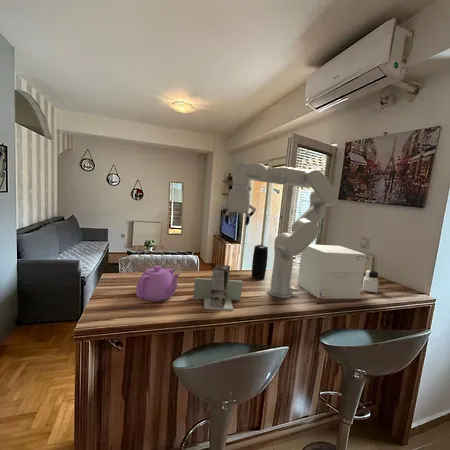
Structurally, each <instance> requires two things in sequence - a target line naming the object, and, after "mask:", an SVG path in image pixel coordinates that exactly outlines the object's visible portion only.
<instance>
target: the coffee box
mask: <svg viewBox="0 0 450 450" xmlns="http://www.w3.org/2000/svg"><path fill="white" fill-rule="evenodd" d="M230 270H231V266H230V265H228V264H227V265H226V264H216V265H215V266H214V267H213V269H212V276H211V279H212V285H211V296H210V306H214V307H220V308H224V306H225V304H226V301H227V295H228V284H229V280H230V273H231V271H230Z"/></svg>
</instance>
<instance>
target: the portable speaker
mask: <svg viewBox="0 0 450 450" xmlns="http://www.w3.org/2000/svg"><path fill="white" fill-rule="evenodd" d="M268 250H269V246H265V245H264V244H263V245H262V244H257V245H254V248H253V256H252V262H251V263H252V264H251V277H252V278H254V279H255V280H260V281H261V280H262V279H265V277H266V272H267V266H268V264H267V263H268V257H269V256H268V252H269V251H268Z"/></svg>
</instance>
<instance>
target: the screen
mask: <svg viewBox="0 0 450 450" xmlns="http://www.w3.org/2000/svg"><path fill="white" fill-rule="evenodd" d="M243 282H244V281H243V280H235V279H229V284H228V295H227V299H231V301H241V300H242V292H243V291H242V290H243ZM193 285H194V286H193V294H192V296H193V297H192V298H194V299H204V298H210V296H211V285H212V278H205V277H204V278H203V277H202V278H201V277H195V278H194V284H193Z"/></svg>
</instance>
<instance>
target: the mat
mask: <svg viewBox="0 0 450 450" xmlns="http://www.w3.org/2000/svg"><path fill="white" fill-rule="evenodd" d="M203 303H204V304H203V306H204V310H214V311H215V310H216V311H234V306H233V303H232V300H231V299H227V301H226V304H225V306H224V308H220V307H214V306H210V298H203Z"/></svg>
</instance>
